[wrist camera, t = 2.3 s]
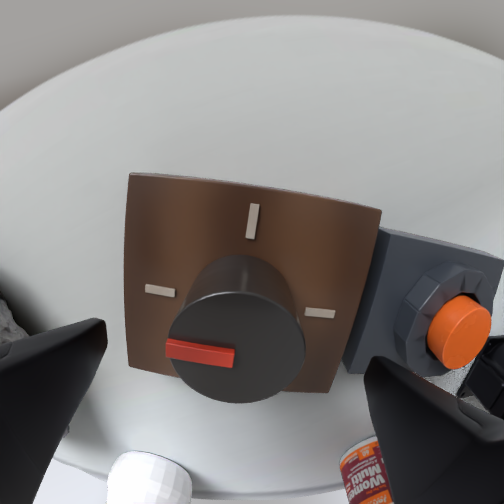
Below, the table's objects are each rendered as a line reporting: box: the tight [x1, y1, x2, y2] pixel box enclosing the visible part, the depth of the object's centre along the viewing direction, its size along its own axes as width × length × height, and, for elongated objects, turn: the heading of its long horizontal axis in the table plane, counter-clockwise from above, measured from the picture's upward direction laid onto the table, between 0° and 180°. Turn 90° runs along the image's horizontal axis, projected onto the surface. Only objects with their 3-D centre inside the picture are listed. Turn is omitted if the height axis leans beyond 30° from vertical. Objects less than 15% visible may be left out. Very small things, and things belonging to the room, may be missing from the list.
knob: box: [166, 255, 306, 403], centre depth 10 cm, size 4×4×4 cm
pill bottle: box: [340, 436, 394, 504], centre depth 14 cm, size 6×6×11 cm
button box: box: [342, 227, 504, 377], centre depth 14 cm, size 10×8×4 cm
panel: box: [124, 173, 382, 393], centre depth 14 cm, size 11×10×3 cm
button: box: [427, 296, 491, 369], centre depth 11 cm, size 4×4×2 cm
